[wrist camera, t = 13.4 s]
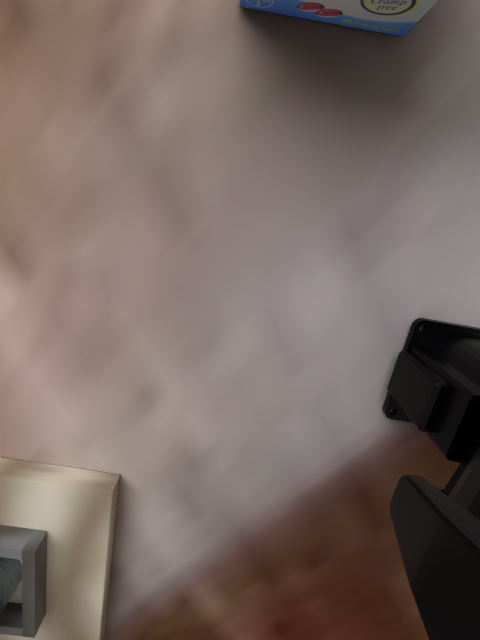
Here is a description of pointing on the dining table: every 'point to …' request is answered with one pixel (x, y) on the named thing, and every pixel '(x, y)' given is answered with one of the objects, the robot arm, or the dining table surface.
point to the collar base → (57, 549)
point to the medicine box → (351, 12)
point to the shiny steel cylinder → (9, 579)
